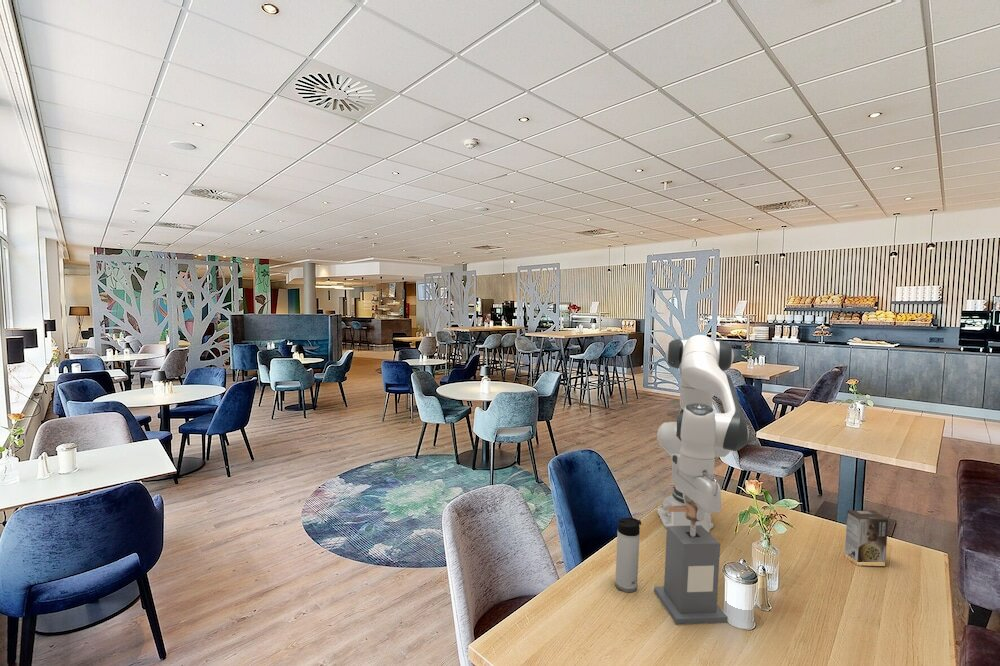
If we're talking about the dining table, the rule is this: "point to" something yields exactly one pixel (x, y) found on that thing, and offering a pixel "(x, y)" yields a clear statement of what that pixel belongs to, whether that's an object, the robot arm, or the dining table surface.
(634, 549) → the travel mug
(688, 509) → the pump head
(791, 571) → the dining table surface
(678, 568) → the grey box with base
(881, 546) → the coffee box
